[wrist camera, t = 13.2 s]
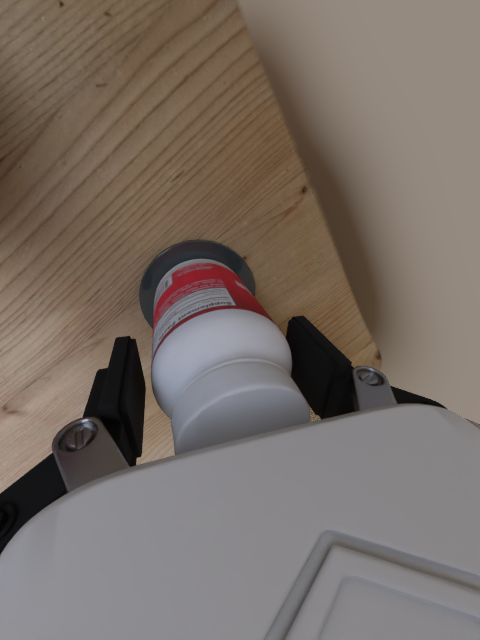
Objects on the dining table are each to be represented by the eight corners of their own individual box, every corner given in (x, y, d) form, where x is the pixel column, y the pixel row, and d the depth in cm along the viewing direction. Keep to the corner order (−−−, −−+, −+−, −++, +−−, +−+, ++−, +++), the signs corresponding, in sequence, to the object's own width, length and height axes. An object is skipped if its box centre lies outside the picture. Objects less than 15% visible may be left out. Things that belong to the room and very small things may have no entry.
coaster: (129, 241, 15) (128, 242, 14) (256, 237, 17) (258, 239, 16) (149, 350, 19) (149, 353, 18) (250, 336, 21) (251, 339, 20)
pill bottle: (248, 323, 19) (328, 456, 10) (170, 346, 19) (182, 515, 9) (234, 245, 16) (335, 339, 7) (139, 268, 15) (110, 413, 6)
